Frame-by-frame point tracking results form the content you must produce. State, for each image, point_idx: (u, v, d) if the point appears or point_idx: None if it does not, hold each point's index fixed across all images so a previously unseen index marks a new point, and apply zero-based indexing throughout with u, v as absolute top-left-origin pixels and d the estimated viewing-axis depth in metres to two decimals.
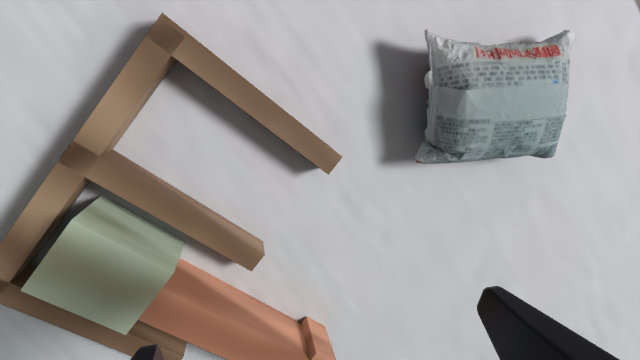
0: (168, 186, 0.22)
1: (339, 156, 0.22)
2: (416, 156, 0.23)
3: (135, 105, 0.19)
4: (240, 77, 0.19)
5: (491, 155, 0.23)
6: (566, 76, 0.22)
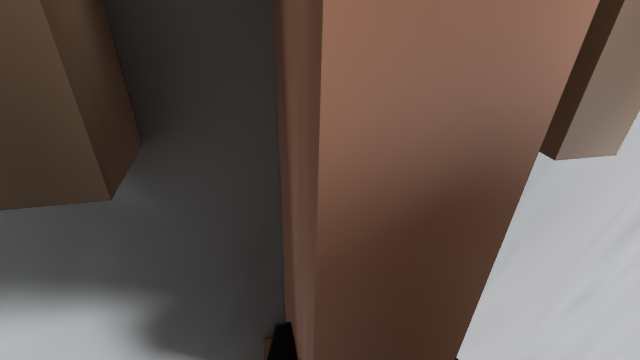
0: None
1: None
2: None
3: None
4: None
5: None
6: None
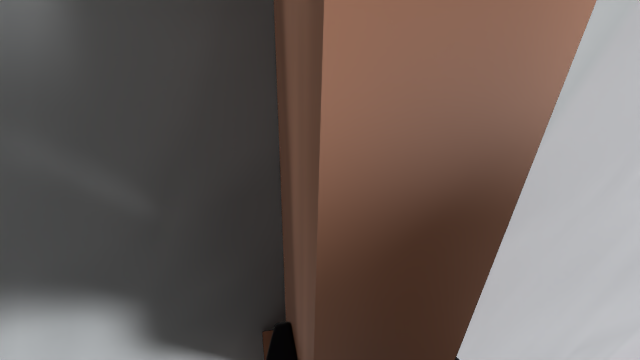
0: None
1: None
2: None
3: None
4: None
5: None
6: None
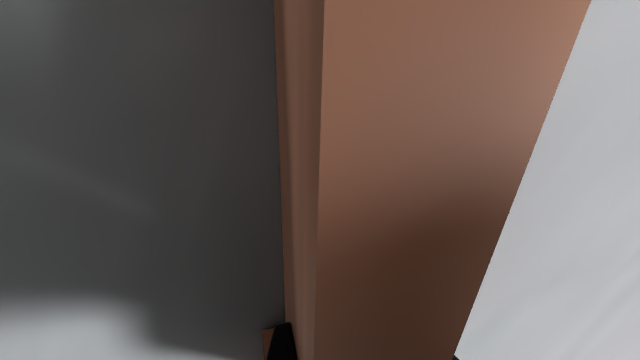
0: None
1: None
2: None
3: None
4: None
5: None
6: None
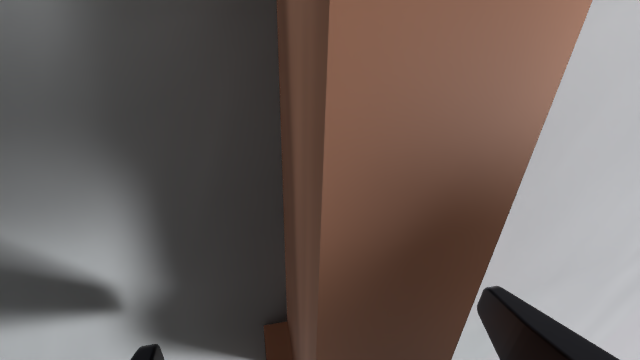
0: None
1: None
2: None
3: None
4: None
5: None
6: None
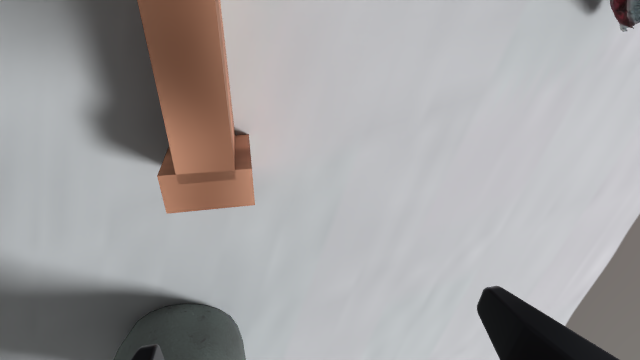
0: None
1: None
2: None
3: None
4: None
5: None
6: None
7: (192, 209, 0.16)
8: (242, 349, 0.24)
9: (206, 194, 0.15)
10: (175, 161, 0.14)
